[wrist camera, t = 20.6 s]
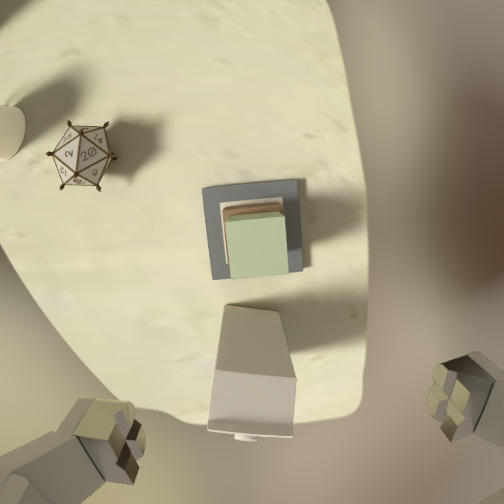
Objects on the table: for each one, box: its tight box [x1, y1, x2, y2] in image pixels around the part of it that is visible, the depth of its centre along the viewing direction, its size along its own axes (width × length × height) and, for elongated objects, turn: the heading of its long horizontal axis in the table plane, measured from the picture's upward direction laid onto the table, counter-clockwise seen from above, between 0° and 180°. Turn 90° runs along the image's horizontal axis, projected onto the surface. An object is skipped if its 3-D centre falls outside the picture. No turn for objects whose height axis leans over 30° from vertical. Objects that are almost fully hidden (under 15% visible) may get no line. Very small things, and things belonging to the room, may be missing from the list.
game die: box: [46, 120, 117, 192], centre depth 31 cm, size 9×8×10 cm
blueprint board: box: [202, 180, 303, 280], centre depth 37 cm, size 11×11×1 cm
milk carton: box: [207, 305, 297, 441], centre depth 31 cm, size 7×7×19 cm
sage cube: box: [225, 211, 289, 279], centre depth 29 cm, size 5×5×5 cm
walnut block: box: [222, 202, 283, 269], centre depth 34 cm, size 6×6×5 cm
